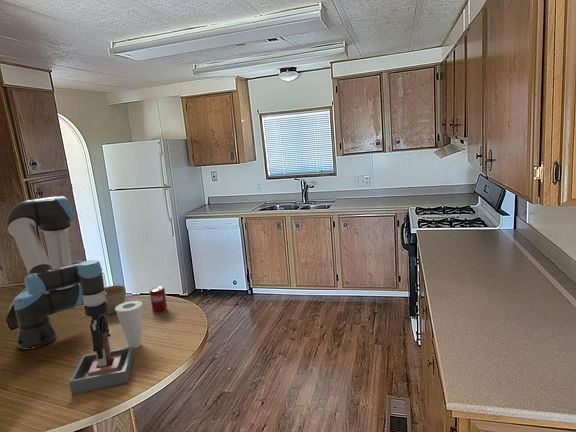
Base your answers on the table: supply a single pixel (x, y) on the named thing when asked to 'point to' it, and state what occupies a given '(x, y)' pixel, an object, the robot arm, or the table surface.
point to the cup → (131, 321)
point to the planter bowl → (114, 297)
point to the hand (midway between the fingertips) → (104, 359)
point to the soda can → (158, 300)
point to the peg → (106, 349)
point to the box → (102, 372)
